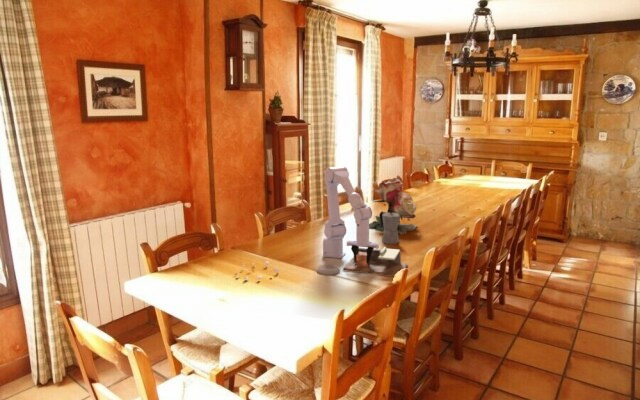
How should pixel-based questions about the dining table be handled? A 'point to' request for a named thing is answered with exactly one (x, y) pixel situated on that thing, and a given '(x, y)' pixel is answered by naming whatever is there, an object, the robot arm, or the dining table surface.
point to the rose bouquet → (395, 205)
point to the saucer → (328, 270)
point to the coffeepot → (390, 227)
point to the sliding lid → (388, 254)
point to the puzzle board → (377, 264)
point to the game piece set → (260, 276)
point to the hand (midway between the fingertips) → (362, 262)
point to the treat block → (362, 260)
